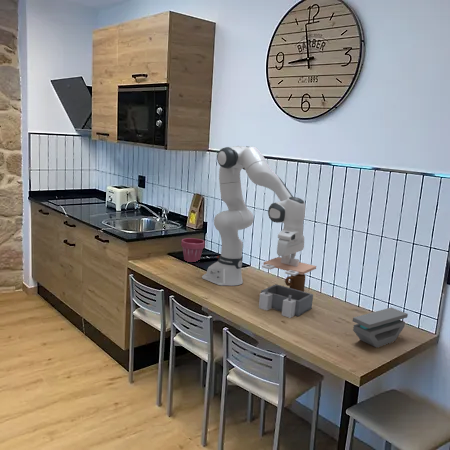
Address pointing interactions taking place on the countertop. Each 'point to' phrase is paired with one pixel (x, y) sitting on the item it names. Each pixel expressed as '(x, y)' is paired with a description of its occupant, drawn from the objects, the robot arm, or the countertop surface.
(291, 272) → the door
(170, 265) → the countertop surface
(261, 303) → the cabinet
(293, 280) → the mug
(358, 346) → the countertop surface
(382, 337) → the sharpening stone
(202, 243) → the plant pot
